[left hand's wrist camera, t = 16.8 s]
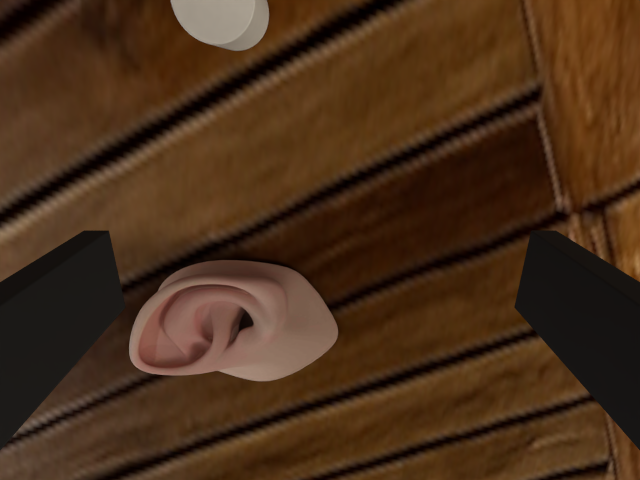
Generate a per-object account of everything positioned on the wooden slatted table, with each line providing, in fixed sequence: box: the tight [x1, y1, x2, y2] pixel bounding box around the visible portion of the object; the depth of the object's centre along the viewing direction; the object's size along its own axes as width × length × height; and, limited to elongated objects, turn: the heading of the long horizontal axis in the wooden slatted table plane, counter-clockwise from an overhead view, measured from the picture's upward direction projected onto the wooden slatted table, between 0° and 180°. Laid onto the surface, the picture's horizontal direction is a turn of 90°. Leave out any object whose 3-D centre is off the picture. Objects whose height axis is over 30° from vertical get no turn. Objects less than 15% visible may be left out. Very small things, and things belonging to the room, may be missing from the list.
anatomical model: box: [129, 260, 338, 381], centre depth 27 cm, size 13×4×12 cm
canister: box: [171, 0, 269, 51], centre depth 19 cm, size 4×4×5 cm
